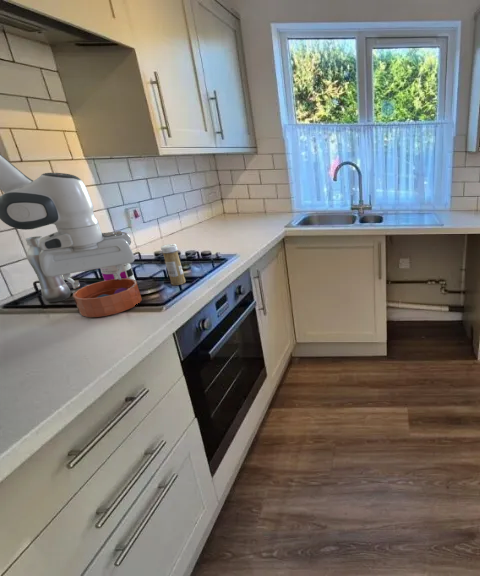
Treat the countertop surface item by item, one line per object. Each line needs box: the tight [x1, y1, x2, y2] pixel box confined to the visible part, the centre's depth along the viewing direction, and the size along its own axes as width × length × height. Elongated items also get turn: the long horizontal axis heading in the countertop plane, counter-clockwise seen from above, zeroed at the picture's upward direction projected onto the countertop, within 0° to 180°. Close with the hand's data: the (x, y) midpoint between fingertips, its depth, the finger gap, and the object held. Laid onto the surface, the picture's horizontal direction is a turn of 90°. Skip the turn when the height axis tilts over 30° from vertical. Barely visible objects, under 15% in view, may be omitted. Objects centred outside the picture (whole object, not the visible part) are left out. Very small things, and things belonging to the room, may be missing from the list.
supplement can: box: [99, 263, 136, 281], centre depth 120 cm, size 8×8×15 cm
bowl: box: [72, 278, 143, 318], centre depth 106 cm, size 15×15×6 cm
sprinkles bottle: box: [160, 243, 187, 286], centre depth 121 cm, size 5×5×13 cm
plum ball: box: [114, 288, 127, 294], centre depth 108 cm, size 4×4×4 cm
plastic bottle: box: [25, 235, 71, 303], centre depth 109 cm, size 6×7×20 cm
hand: (98, 283), depth 102 cm, fingers open, 8 cm apart
